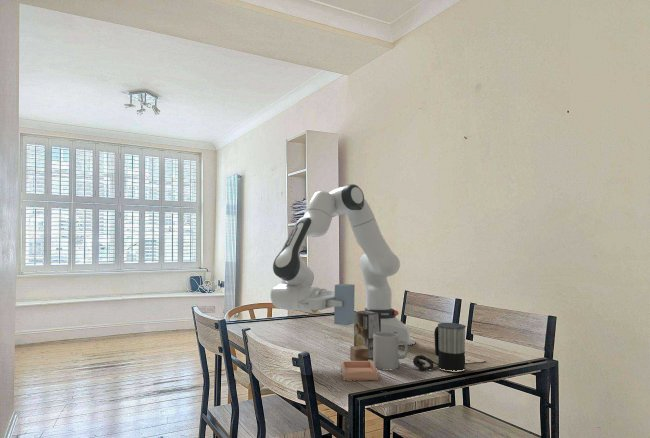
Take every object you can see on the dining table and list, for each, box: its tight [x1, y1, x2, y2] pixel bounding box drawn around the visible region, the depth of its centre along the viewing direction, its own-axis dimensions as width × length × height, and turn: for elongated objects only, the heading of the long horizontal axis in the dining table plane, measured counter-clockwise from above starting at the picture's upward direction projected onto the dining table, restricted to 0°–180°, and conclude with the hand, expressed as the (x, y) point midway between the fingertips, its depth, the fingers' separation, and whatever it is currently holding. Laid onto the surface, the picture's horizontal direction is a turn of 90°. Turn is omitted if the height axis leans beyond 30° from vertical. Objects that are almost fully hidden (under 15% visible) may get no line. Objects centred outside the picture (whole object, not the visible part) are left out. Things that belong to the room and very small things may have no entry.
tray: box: [340, 360, 379, 382], centre depth 143 cm, size 11×14×2 cm
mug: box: [372, 332, 409, 371], centre depth 152 cm, size 12×8×11 cm
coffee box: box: [353, 310, 381, 359], centre depth 168 cm, size 9×6×16 cm
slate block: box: [333, 283, 356, 326], centre depth 150 cm, size 5×5×13 cm
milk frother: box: [412, 322, 466, 371], centre depth 151 cm, size 14×16×15 cm
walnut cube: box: [349, 345, 369, 361], centre depth 159 cm, size 5×5×5 cm
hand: (346, 302), depth 150 cm, fingers closed on slate block, 5 cm apart
